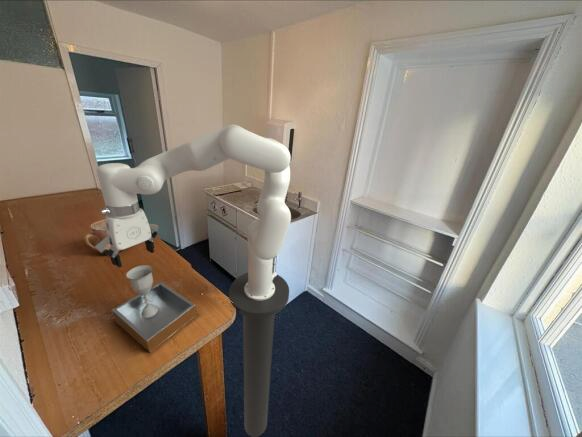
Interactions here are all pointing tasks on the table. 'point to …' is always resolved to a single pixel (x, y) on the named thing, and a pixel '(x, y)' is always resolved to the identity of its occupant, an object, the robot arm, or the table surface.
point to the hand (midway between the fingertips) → (135, 258)
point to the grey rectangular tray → (155, 316)
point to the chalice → (143, 286)
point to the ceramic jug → (98, 234)
